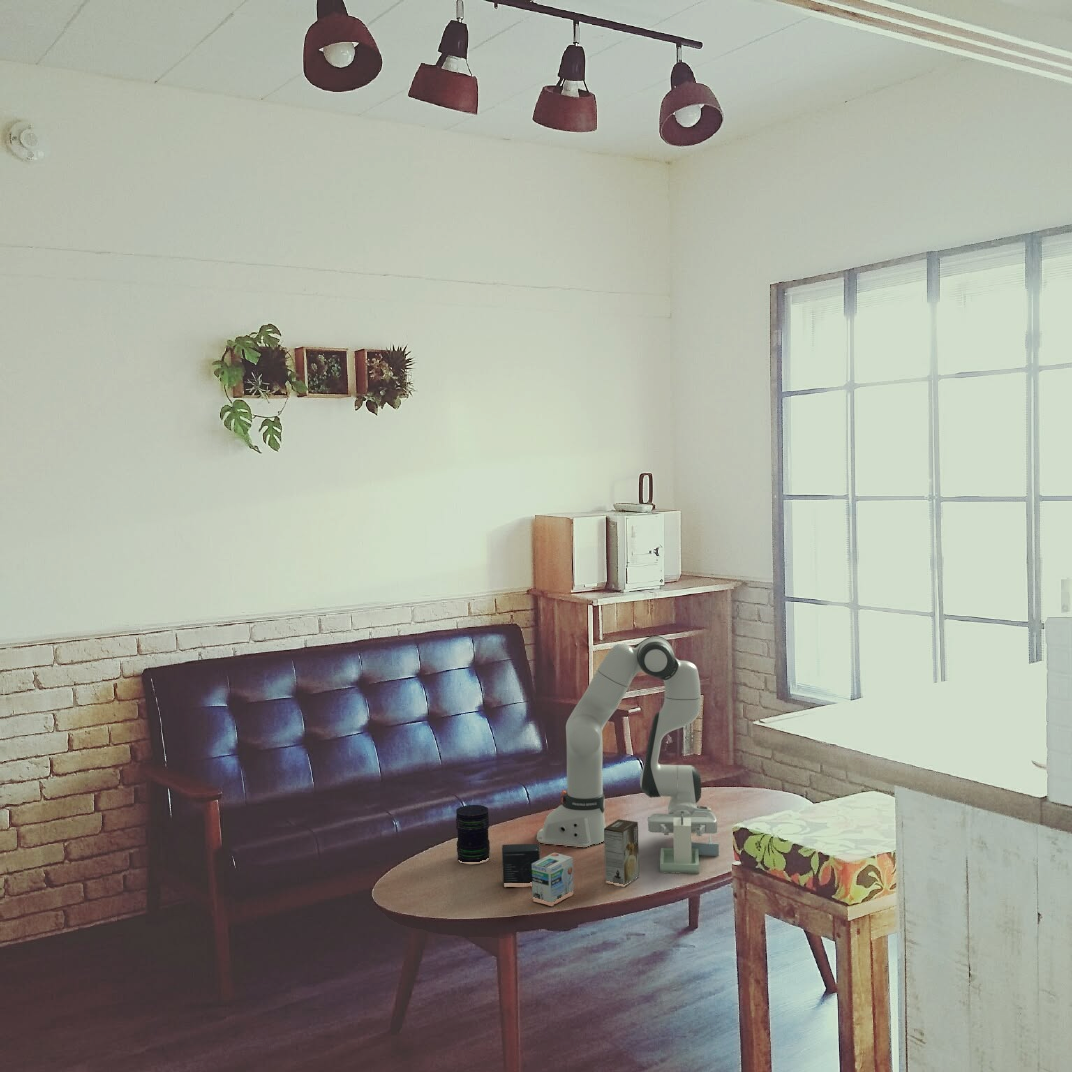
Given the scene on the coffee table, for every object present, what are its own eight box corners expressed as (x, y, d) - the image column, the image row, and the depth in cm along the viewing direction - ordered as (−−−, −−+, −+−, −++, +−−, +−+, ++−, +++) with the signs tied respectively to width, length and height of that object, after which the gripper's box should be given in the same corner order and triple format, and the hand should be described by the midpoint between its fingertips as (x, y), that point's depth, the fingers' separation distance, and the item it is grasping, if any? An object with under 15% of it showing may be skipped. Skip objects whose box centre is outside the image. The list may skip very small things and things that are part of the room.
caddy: (674, 866, 323) (673, 819, 322) (674, 857, 330) (673, 811, 329) (691, 866, 323) (691, 819, 322) (691, 857, 330) (690, 811, 329)
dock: (681, 854, 334) (681, 843, 334) (681, 844, 343) (681, 833, 343) (718, 855, 333) (718, 844, 333) (717, 845, 341) (717, 834, 341)
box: (540, 878, 319) (539, 842, 318) (540, 887, 312) (540, 851, 311) (503, 879, 319) (502, 843, 318) (502, 888, 312) (501, 852, 311)
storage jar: (455, 865, 331) (453, 815, 329) (458, 853, 340) (457, 805, 339) (489, 864, 330) (487, 815, 329) (491, 852, 340) (490, 804, 339)
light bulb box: (551, 908, 298) (550, 868, 297) (531, 902, 302) (530, 863, 301) (574, 895, 306) (573, 856, 306) (554, 889, 311) (553, 851, 310)
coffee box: (619, 873, 321) (618, 818, 320) (639, 877, 318) (638, 821, 317) (604, 884, 314) (603, 827, 312) (625, 888, 310) (624, 831, 309)
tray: (660, 872, 321) (660, 864, 321) (660, 856, 334) (660, 848, 334) (699, 873, 320) (699, 864, 319) (698, 857, 332) (698, 848, 332)
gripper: (647, 806, 340) (646, 821, 326) (716, 807, 337) (717, 822, 323) (647, 826, 340) (646, 842, 326) (716, 828, 338) (718, 844, 324)
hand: (682, 832), depth 325 cm, fingers open, 8 cm apart
